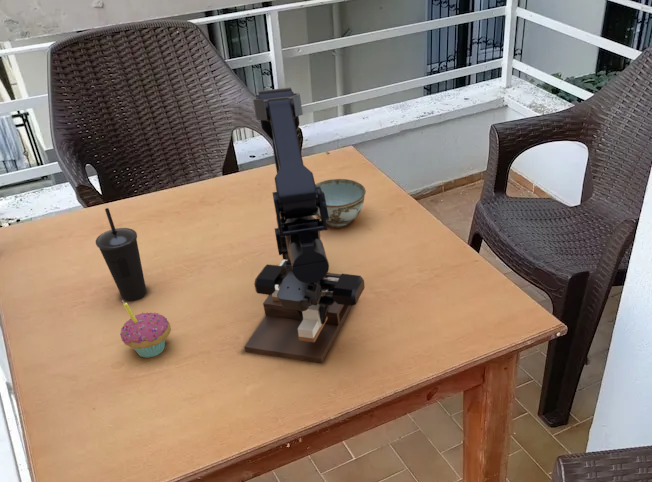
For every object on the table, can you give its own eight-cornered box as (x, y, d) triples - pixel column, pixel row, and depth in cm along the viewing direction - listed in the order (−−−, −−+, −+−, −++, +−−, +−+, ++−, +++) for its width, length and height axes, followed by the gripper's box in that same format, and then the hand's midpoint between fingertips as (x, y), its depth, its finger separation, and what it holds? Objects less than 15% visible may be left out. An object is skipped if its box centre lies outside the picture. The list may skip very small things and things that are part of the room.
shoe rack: (245, 351, 127) (239, 324, 123) (285, 292, 142) (280, 266, 138) (321, 363, 124) (318, 335, 120) (354, 301, 139) (351, 275, 135)
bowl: (298, 226, 163) (294, 196, 159) (333, 202, 172) (330, 173, 168) (345, 241, 157) (342, 210, 153) (378, 216, 167) (376, 186, 162)
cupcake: (131, 370, 123) (112, 317, 116) (124, 343, 130) (105, 291, 122) (179, 354, 127) (164, 302, 119) (170, 329, 133) (155, 278, 126)
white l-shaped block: (286, 280, 138) (283, 258, 135) (300, 281, 137) (297, 260, 134) (272, 300, 133) (268, 278, 130) (287, 302, 132) (283, 280, 129)
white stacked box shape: (312, 316, 129) (309, 295, 126) (327, 318, 129) (324, 297, 126) (298, 340, 124) (295, 318, 121) (314, 342, 123) (311, 320, 120)
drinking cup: (161, 288, 144) (136, 203, 132) (135, 308, 138) (106, 222, 126) (133, 280, 146) (106, 196, 135) (106, 299, 141) (76, 214, 129)
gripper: (233, 269, 113) (249, 342, 122) (341, 283, 109) (349, 357, 118) (261, 235, 121) (274, 305, 131) (362, 246, 118) (368, 318, 127)
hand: (314, 321), depth 126 cm, fingers closed on white stacked box shape, 3 cm apart
